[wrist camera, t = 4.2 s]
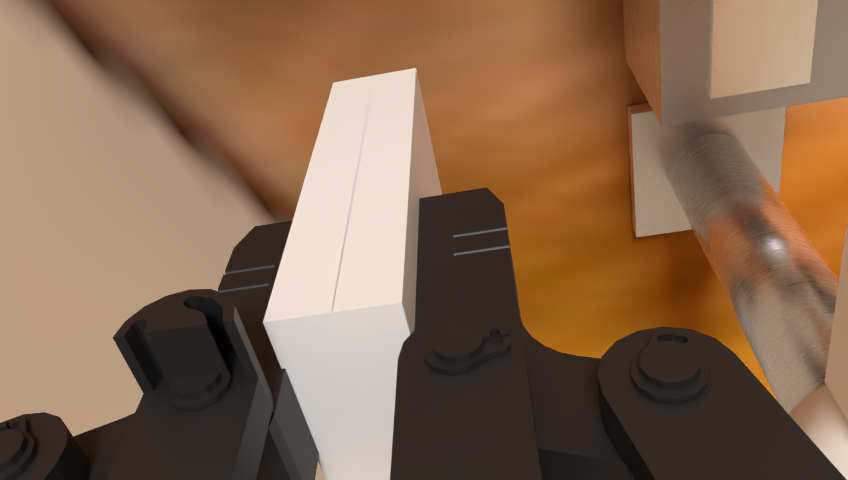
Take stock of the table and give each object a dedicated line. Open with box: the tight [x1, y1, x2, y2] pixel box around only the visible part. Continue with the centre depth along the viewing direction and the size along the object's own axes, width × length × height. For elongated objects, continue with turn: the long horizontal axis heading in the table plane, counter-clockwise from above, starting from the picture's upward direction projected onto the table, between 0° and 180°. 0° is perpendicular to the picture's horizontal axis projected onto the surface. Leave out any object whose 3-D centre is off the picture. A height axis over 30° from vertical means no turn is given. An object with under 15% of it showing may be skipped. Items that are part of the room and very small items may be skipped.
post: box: [627, 103, 839, 414], centre depth 26 cm, size 6×6×15 cm
